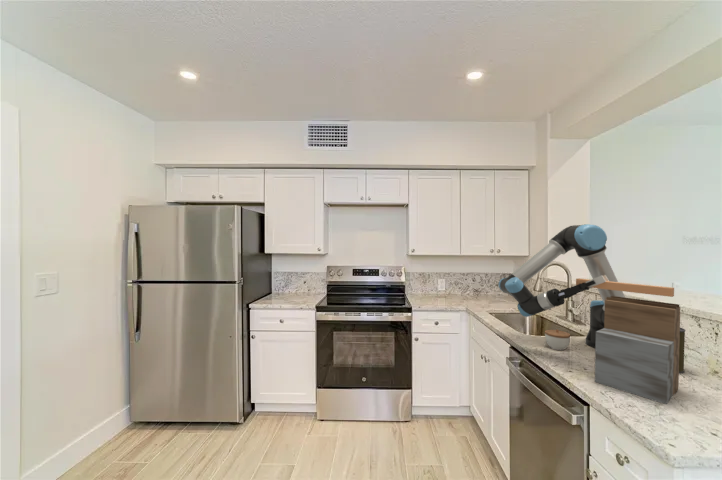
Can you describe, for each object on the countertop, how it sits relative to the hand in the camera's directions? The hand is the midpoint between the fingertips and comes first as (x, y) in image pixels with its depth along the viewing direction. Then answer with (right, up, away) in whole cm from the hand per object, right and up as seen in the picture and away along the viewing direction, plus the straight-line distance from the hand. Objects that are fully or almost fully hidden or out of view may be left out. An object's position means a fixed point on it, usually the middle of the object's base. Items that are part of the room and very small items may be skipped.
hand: (605, 278), depth 131 cm
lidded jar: (-2, -38, +29) cm, 48 cm away
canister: (+30, -39, +5) cm, 49 cm away
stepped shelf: (+3, -38, -11) cm, 40 cm away
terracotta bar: (+3, -4, -4) cm, 7 cm away
